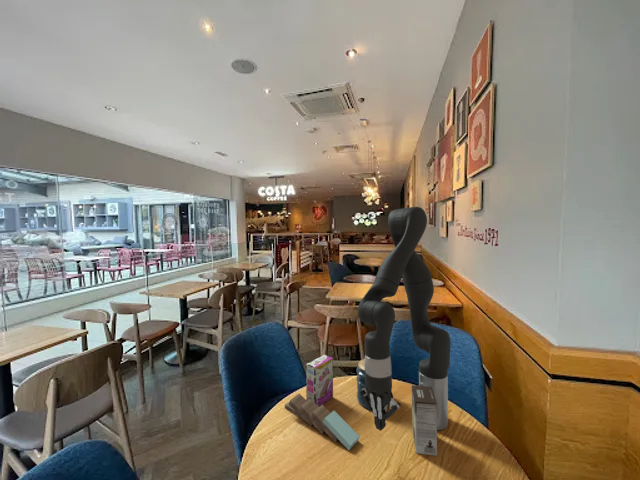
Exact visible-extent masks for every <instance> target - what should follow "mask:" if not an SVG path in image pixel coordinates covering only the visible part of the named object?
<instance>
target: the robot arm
mask: <svg viewBox="0 0 640 480" xmlns="http://www.w3.org/2000/svg"><path fill="white" fill-rule="evenodd" d="M427 218H428V217H427V213H426V212H425V210H424V209H423V207H420V206H409V207H404V208H398V209H394V210H392V211H390V212H389V214H388V219H387V224H388V229H389V234H390V237H391V239H392V242H393V246H394V249H393V250H392V251H391V252H389V254H388V255H387V256H386V257H385V258H384V260H383V261H382V262H381V264H380V266H379V268H378V271H377V273H376V275H375V279H374V282H373V283H372V285H371V286H370V287H369V288H368V290H367V291H366V293H365V294H364V296H363V297H362V299H361V300H360V302H359V303H358V304H359V305H358V307H357V315H358V316H357V317H358V319H359V320H360V321H361V322H362V323H364V324H367V325H370V326H374V327H376V330H374V331H368V332H367V333H366V334H365V336H364V359H365V384H366V387H365V388H363V389H362V390H361V391H359V393H360V395H361V397H362V399H363V401H364V403H365V405H366V407H367V408H366V409H367V410H368V412H371V413H372V415H373V416H374V417H373V419H374V420H373V421H374V426H375V429H376V430H378V431H382V430H384V428H386V425H387V424H386V421H387V420H388V419H390V418H391V417H392V416H393V415H394V413H396V412H397V411H398V410H399V409H400V408H401V407H402V404H401V403H400V402H397V401H396V400H395V399H394V394H393V392H392V389H393V377H392V376H393V372H392V371H393V369H392V359H391V345H390V344H391V343H390V342H391V336H392V333H393V332H392V331H393V328H394V324H395V321H396V320H395V319H396V312H395V309H394V307H393V305H392V304H391V303H388V302H385V301H382V300H384V299H385V298H391V297H394V296H395V295H397V292H398V290H399V287H400V283H401V280H402V281H403V285H404V291H405V294H406V298H407V303H408V309H409V314H410V320H411V321H410V323H411V331H412V338H413V341H414V344H415V346H417V348H418V349H420V350H422V351H424V352H425V353H428V354H429V358H425V359H421V360H420V361H419V363H418V386H429V387H432V389H433V392H434V395H435V399H436V402H437V431H442V430H445V429H447V427H448V426H449V393H448V392H449V386H448V385H449V384H448V383H449V382H448V380H449V379H448V376H449V374H448V373H449V368H450V362H451V359H450V358H451V336H450V334H449V332H448V331H447V330H445V329H443V328H441V327H439V326H434V325H432V323H431V322H430V319H429V313H428V308H429V305H430V303H431V301H432V299H433V296H434V293H435V288H434V283H433V276H432V272H431V270H430V268H429V267H428V266H427V264H426V263H425V261H424V260H423V259H422V258H421V256H419V255H418V253H417V252H416V251H415V250H416V248H417V246H418V244H419V242H420V240H421V239H422V238H423V235H424V234H425V232H426V229H427V225H428V219H427ZM369 402H370V404H371V406H370V404H369ZM388 404H389V405H388ZM387 405H388V406H389V410H388V411H387V408H388V406H387Z"/></svg>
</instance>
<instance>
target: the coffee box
mask: <svg viewBox="0 0 640 480" xmlns="http://www.w3.org/2000/svg"><path fill="white" fill-rule="evenodd" d="M411 415H412V417H411V418H412V419H411V420H412V421H411V422H412V423H411V425H412V426H411V427H412V428H411V429H412V437H413V444H414V449H415V453H416V454H419V455H421V454H422V455H429V456H437V457H438V430H437V402H436V399H435V395H434V392H433V389H432V387H429V386H419V385H414V384H413V385H411Z"/></svg>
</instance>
